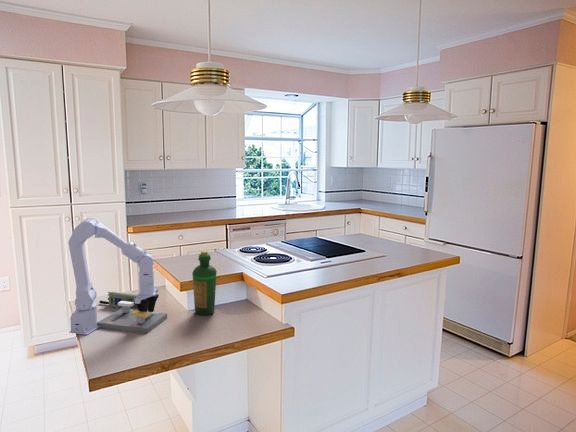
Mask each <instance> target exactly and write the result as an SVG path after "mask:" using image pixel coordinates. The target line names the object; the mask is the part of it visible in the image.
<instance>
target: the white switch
mask: <svg viewBox="0 0 576 432" xmlns="http://www.w3.org/2000/svg"><path fill="white" fill-rule="evenodd" d="M133 305H134V302H127V301H120V302H118V306H122V312H123V313H128V312H130V307H131V306H133Z"/></svg>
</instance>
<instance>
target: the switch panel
mask: <svg viewBox="0 0 576 432" xmlns="http://www.w3.org/2000/svg"><path fill="white" fill-rule="evenodd" d="M134 311H139V310H133V309H130V312H128V313H123V312H122V308H118V309H117V310H116V311H114V312H112V313H110V314H109V315H107V316H105V317H104V318H103V319H100V321H97V326H100V327H99V328H100V329H108V330H117V331H125V332H133V333H138V334H148V333H149V332H151V331H152V330H153V329H155V328H156V327H157V326H159V325H160V324H161V323H162V322H164V321H165V320H167V319H168V313H166V312H159V311H158V312H157V311H154V312H149V315H148V316H147V317H145V322H144V323H142V324H140V323H137V322H136V316H132V313H133V312H134ZM147 312H148V310H147Z"/></svg>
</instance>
